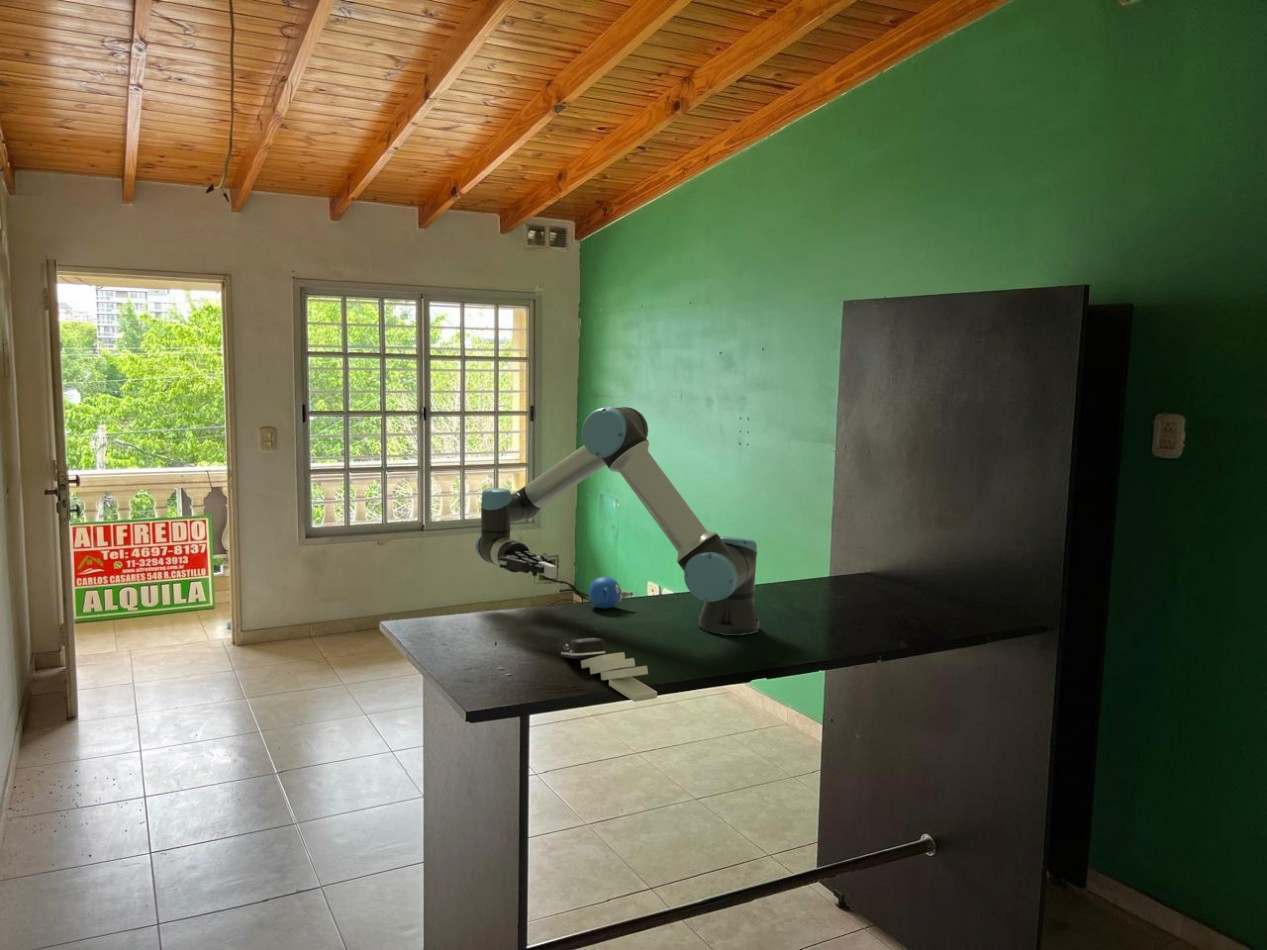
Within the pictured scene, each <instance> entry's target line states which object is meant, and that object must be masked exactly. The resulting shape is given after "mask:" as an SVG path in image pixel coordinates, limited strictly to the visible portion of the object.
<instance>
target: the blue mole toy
mask: <svg viewBox="0 0 1267 950" xmlns="http://www.w3.org/2000/svg"><path fill="white" fill-rule="evenodd" d="M620 587H621V585H620V584H619V583H618V582H617V580H615V579H614V578H612V577H609V576H600V577H597V578H595V579H593V581H592V582H591V583H590V585H589V588H588V597H589V601H590V603H591V604H592V605H593V606H594V607H596V608H599V609H601V610H604V609H605V610H606V609H610V608H613V607H614V606H616V605H617V604H619V603H621V602H622V600H623V599H626V598H628V597H629V596H630V597H631V596H633V595H634V592H633V591H628V590H623V589H621V588H620ZM593 602H601V603H593Z"/></svg>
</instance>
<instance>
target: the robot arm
mask: <svg viewBox="0 0 1267 950" xmlns="http://www.w3.org/2000/svg"><path fill="white" fill-rule="evenodd" d="M648 435H649V426H648V422H647V420H646V418H645V417H644V415H643V414H642V413H641V412H640V411H638V410H637V409H635V408H632V407H628V406H627V407H625V406H622V407H621V406H620V407H612V406H603V407H602V408H597V409H595V410H593V411H592V412H590V413H589V414H588V415H587V417H586V418H585V419H584V421H583V425H582V428H581V440H582V443H583V445H582V446H581V447H579V448H578V449H576V450H574V452H573V451H572V453H570V454H569V455H568V456H565V458H563V459H562V460H560V461H559V462H558V463H556V464H555V465H553V466H551V467H550V468H549V469H547V470H546V471H544V472H543V473H542V474H540V475H539V476H537V477H536V478H534V479H533V480H532V481H530V482H529V483H527V484H526V485H524V486H523V487H521V488H520V489H519V490H517V491H515V492H513V493H512V492H511V491H510V490H509V489H508V488H500V487H499V488H497V487H496V488H495V487H494V488H486V489H484V490H482V493H481V503H480V513H481V514H480V523H481V524H480V526H481V528H480V529H481V531H480V535H479V536H478V538H477V539H476V541H475V551H476V554H477V555H478V557H479V558H480V559H482V560H483V561H485V562H486V563H490V564H493V565H496V566H498V567H499V568H502V569H503V571H509V572H510V573H519V572H520V573H524V574H529V573H531V575H532V577H537V576H538V574H539V575H541V576H543V577H546V578H548V579H557V569H558V568H557V565H555V564H554V563H553V561H554V560H553V559H552V558H550V557H549V556H548V553H547V552H544V553H542V554H541V553H540V554H539V556H538V555H537V554H536V553H533V552H531V551H530V549H529V547H528V546H527V545H526V544H524V543H522V542H519V541H517V540H515V539H512V538H511V523H513V522H518V521H522V520H528V519H531V518H533V517H535V516H536V515H537V514H538V513H539V512H540V510H541V509H542V508H543V507H545V506H547V505H548V504H550V503H551V502H553V501H555V500H556V499H557V498H559V497H560V496H561V495H563V494H564V493H566V492H567V491H570V490H571V489H573V488H574V487H575V486H577V485H578V484H579V483H581V482H583V481H584V480H585V479H587V478H589V477H591V475H593V474H595V473H596V472H598V471H599V470H601V469H602V468H604V467H605V466H606V467H607V468H608V470H609V471H610V472H617V473H620V475H621V476H622V477H623V479H624V481H626V483H627V485H628V486H629V488H630V489H631V490H632V491H633V493H634V494H635V495H636V497H637V498H638V500H639V501H640V502H641V503H642V505H643V507H644V508H645V509H646V511H647V512H648V514H649V515H650V516H651V518H652V519H653V521H654V522H655V523H656V524H657V526H658V527H659V528H660V530H661V531H662V533H663V534H664V536H665V537H666V538H667V539H668V541H669V542H670V543H671V545H672V546H673V548H674V549H675V550H676V552H677V559H676V563H677V564H678V565H679V567H680V568H681V569H682V571H683V572H684V573H683V574H684V575H683V578H684V583H685V586H686V588H687V589H688V591H689V592H690V593H691V594H692V595H693V596H694V597H696V598H698V599H699V600H701V601H704V603H703V606H702V609H701V613H700V614H699V617H698V627H699V626H700V627H701V628H702V629H704V630H708V631H712V632H717V633H724V634H742V633H750V632H753V631H756V630H757V629H758V628H759V629H760V619H759V615H758V611H757V606H756V603H755V599H754V598H755V583H756V572H757V571H756V570H757V568H756V567H757V555H758V550H757V549H758V545H757V542H756V541H755V540H753V539H750V538H744V537H743V538H742V537H735V536H734V537H733V536H722V535H719V534H718V532H715V531H709V530H707V528H706V527H705V526H704V525H703V523H702V522H701V521H700V519H699V518H698V517H697V515H696V514H695V512H694V511H693V510H692V509H691V507H690V506H689V504H688V503H687V502H686V500H685V499H684V498H683V496H682V495H681V494H680V492H679V491H678V490H677V488H676V487H675V486H674V484H673V483H672V482H671V480H670V479H669V478H668V476H667V475H666V474H665V472H664V471H663V469H662V468H661V467H660V466H659V464H658V463H657V461H656V460H655V458H654V457H653V456H652V455H651V454H650V452H649V448H650V447H649V446H650V442H649V440H648ZM700 627H699V628H700ZM701 628H700V629H701ZM702 629H701V630H702ZM704 630H703V631H704Z"/></svg>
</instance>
